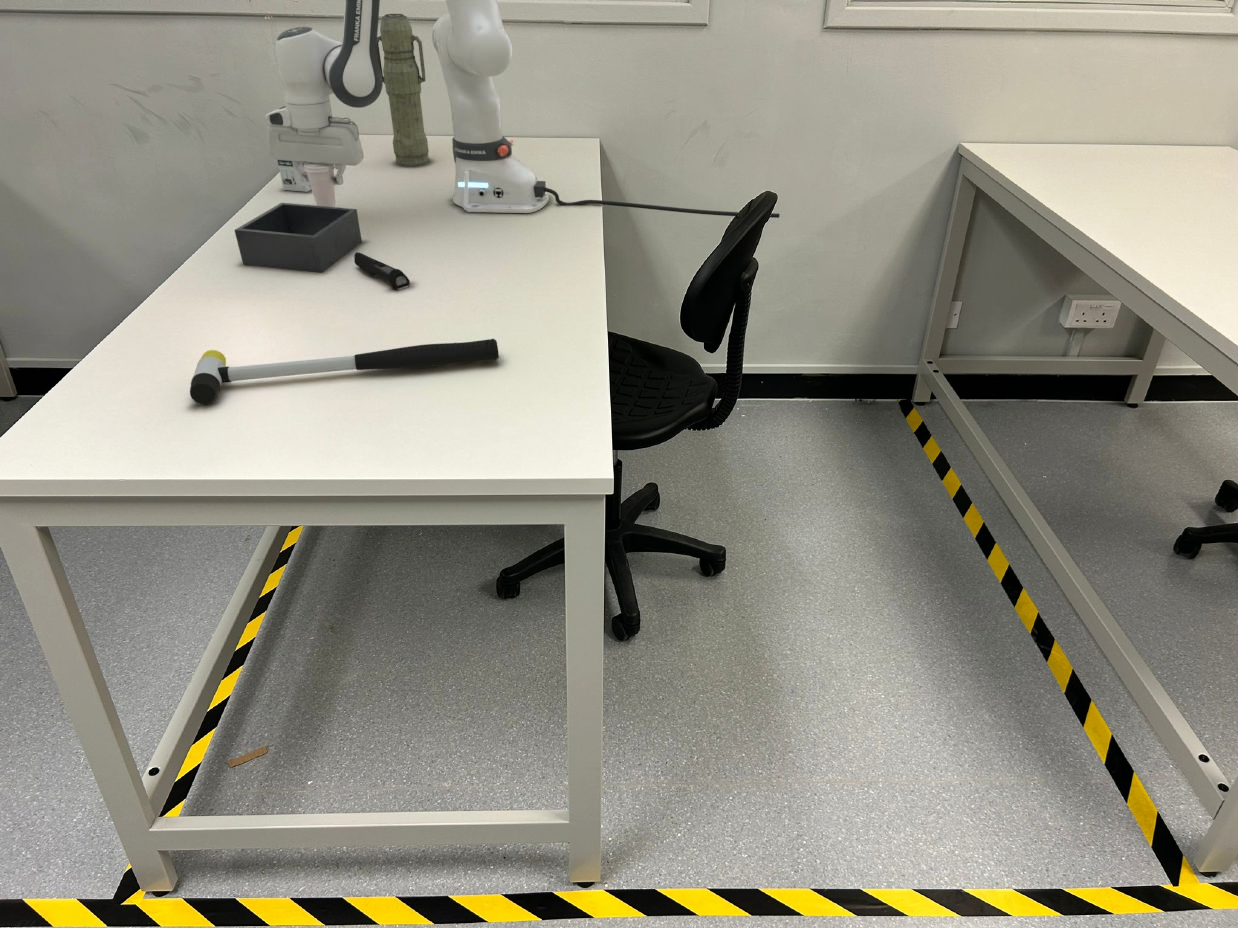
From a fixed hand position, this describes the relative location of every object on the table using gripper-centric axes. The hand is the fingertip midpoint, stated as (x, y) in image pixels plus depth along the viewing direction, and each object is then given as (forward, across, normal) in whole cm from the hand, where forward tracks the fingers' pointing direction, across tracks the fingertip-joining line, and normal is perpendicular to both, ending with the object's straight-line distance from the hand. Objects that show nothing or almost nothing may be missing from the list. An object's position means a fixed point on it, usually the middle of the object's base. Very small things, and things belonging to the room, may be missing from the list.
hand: (322, 182), depth 185 cm
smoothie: (+6, 0, 0) cm, 6 cm away
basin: (+8, -5, +19) cm, 21 cm away
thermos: (+8, +1, -47) cm, 48 cm away
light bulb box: (+8, +18, -22) cm, 30 cm away
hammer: (+9, -38, +63) cm, 74 cm away
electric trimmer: (+8, -25, +27) cm, 38 cm away
